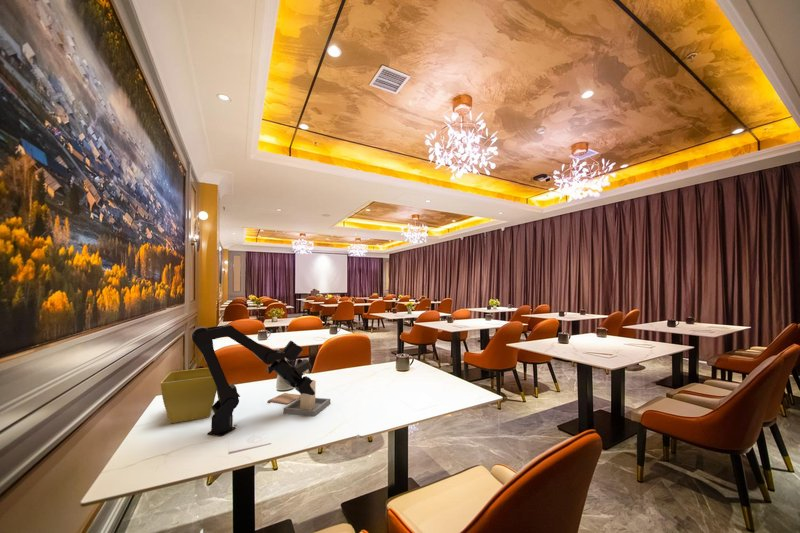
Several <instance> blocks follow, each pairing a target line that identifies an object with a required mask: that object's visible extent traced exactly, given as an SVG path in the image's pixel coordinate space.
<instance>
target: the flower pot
mask: <svg viewBox="0 0 800 533" xmlns="http://www.w3.org/2000/svg"><path fill="white" fill-rule="evenodd" d="M160 391H161V396H162V400H163V401H162V402H163V405H164V409H165V412H166V414H167V418H168V419H169V422H170V424H176V423H181V422H186V421H187V422H188V421H194V420H200V419H205V418H208V417H210V415H211V412H212V411H213V410H212V406H213V405H214V404H215V403H214V402H215V399H216V394H217V388H216V385H215V382H214V380H213V378H212V375H211V373H210V371H209V369H208V367H202V368H193V369H185V370H177V371H170V372H169V373H168V374H167V375H166V376H165V377H164V378H163V380H162V381H160Z"/></svg>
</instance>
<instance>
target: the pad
mask: <svg viewBox="0 0 800 533" xmlns="http://www.w3.org/2000/svg"><path fill="white" fill-rule="evenodd" d="M299 398H300V394H296V393H295V394H294V393H290V392H289V393H288V392H283V393H281V394H279V395H277V396H275V397H272V398H270V399H268V400H267V401H266V402H267V404H271V403H273V404H277V405H286V406H288V405H290V404H291V403H293V402H294V401H296V400H298V399H299Z"/></svg>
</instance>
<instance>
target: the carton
mask: <svg viewBox="0 0 800 533" xmlns="http://www.w3.org/2000/svg"><path fill="white" fill-rule="evenodd" d="M311 380H312V383H311V384H310V386H311V388H312V389H313V391H314V392H315V394H314V395H309V394H304V393H303V394H301V393H299V395H300V409H308V410H312V409H313V408H314V407H315V398H316V380H314V379H311Z"/></svg>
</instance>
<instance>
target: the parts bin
mask: <svg viewBox="0 0 800 533" xmlns="http://www.w3.org/2000/svg"><path fill="white" fill-rule="evenodd" d="M330 405H331V398H322V397H315V407H314V408H313V409H312V410H308V409H300V398H299V399H297V400H296V401H294V402H292V403H290V404H288V405H286V406H285V407H283V414H285V415H294V416H305V417H316V416H317V415H319V414H320V413H321V412H322V411H323V410H325V408H327V407H328V406H330Z"/></svg>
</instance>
